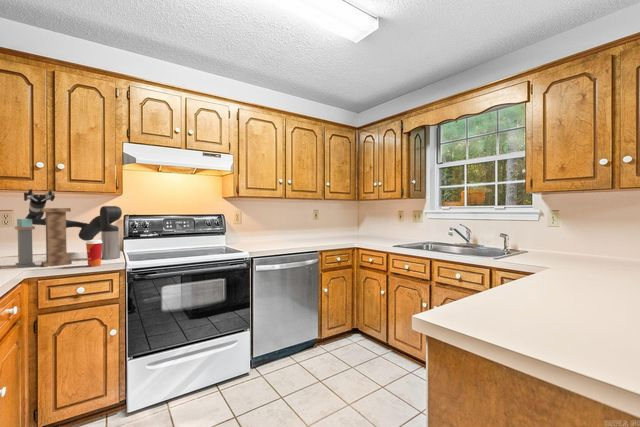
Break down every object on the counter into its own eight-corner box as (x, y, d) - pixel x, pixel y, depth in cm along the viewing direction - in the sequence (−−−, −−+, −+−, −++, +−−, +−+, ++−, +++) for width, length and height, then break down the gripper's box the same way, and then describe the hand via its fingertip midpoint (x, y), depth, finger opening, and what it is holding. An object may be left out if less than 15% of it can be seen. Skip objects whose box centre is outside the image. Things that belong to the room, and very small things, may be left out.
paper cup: (88, 265, 176) (87, 240, 176) (104, 264, 179) (104, 239, 178) (83, 267, 169) (83, 241, 168) (100, 266, 171) (100, 240, 171)
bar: (26, 225, 185) (26, 218, 185) (32, 226, 169) (32, 219, 169) (17, 225, 182) (16, 218, 182) (22, 227, 166) (21, 219, 166)
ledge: (32, 263, 182) (31, 225, 182) (35, 266, 174) (34, 226, 174) (15, 265, 177) (14, 226, 176) (18, 267, 169) (17, 227, 168)
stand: (68, 262, 185) (67, 208, 184) (71, 264, 180) (70, 208, 179) (41, 265, 176) (40, 208, 175) (43, 267, 171) (42, 208, 170)
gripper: (21, 198, 197) (24, 184, 187) (51, 199, 208) (55, 185, 198) (22, 209, 194) (25, 195, 185) (52, 209, 205) (56, 196, 196)
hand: (40, 190), depth 192 cm, fingers open, 8 cm apart
